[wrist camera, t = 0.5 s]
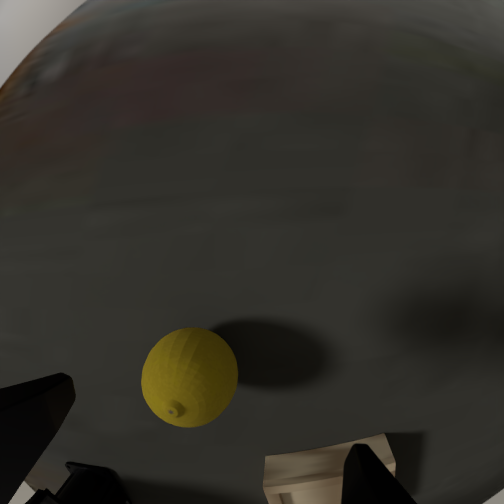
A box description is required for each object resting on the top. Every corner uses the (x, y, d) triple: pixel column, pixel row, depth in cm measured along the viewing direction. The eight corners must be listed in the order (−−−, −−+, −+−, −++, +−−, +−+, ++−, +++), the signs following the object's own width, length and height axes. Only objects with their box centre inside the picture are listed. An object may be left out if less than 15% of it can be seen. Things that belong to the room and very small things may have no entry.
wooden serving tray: (285, 515, 24) (284, 542, 20) (265, 455, 23) (262, 487, 19) (382, 497, 23) (390, 523, 19) (384, 433, 22) (395, 462, 18)
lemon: (256, 330, 21) (242, 393, 14) (228, 391, 22) (207, 465, 14) (180, 298, 22) (131, 345, 14) (160, 362, 22) (113, 423, 15)
